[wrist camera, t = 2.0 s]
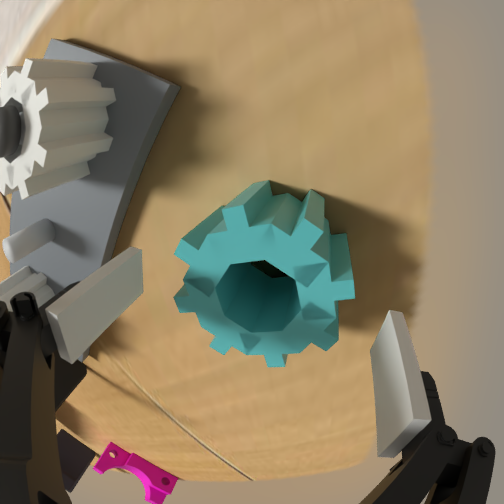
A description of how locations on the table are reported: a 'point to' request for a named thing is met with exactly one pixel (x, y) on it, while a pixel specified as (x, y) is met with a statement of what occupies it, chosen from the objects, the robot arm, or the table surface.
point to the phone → (66, 378)
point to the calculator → (72, 459)
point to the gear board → (108, 179)
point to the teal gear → (261, 285)
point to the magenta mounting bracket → (138, 472)
